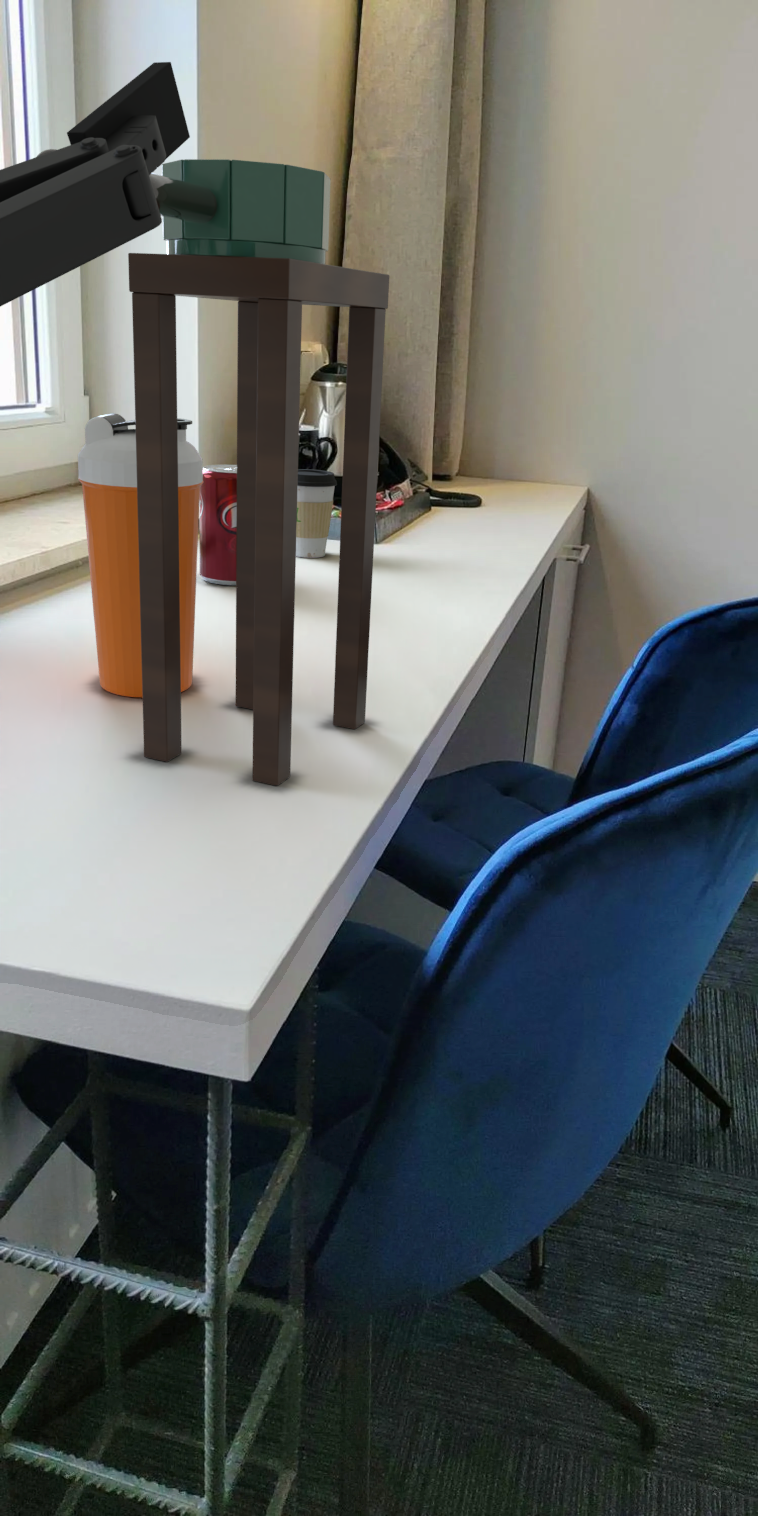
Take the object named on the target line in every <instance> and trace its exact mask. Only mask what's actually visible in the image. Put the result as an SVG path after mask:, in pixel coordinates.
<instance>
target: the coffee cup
mask: <svg viewBox="0 0 758 1516" xmlns="http://www.w3.org/2000/svg"><path fill="white" fill-rule="evenodd" d="M335 477H336V476H335V473H334V472H332V471H329V470H323V469H322V470H321V469H309V468H308V469H306V468H305V469H303V468H298V487H297V527H296V558H297V557H298V558H305V559H315V558H322V557H325V555H326V551H327V550H326V549H327V541H328V537H329V533H330V527H331V522H332V521H331V519H332V513H333V508H334V507H333V506H334V493H335V486H337V485H338V481H337V480H336V478H335Z"/></svg>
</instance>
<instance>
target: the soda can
mask: <svg viewBox="0 0 758 1516" xmlns="http://www.w3.org/2000/svg"><path fill="white" fill-rule="evenodd" d="M236 531H237V464H224V463H223V464H207V465H203V484H202V485H201V486H200V496H199V522H198V544H199V545H198V547H199V575H200V576H201V578H202V579H203V580H204V581H205V582H207V583H211V584H214V585H221V586H232V587H233V586H235V587H236Z"/></svg>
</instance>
